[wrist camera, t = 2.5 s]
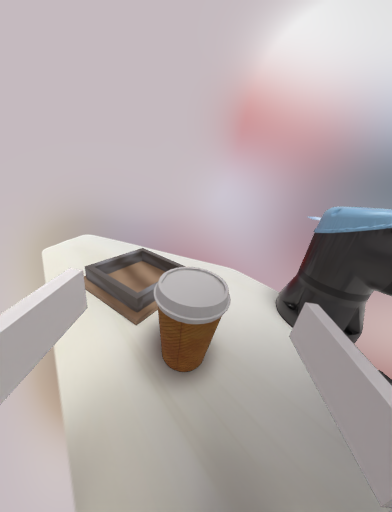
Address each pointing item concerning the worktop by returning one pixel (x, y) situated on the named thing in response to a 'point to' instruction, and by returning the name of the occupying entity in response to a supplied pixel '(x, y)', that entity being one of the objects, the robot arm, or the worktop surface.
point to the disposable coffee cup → (189, 314)
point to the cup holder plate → (128, 282)
